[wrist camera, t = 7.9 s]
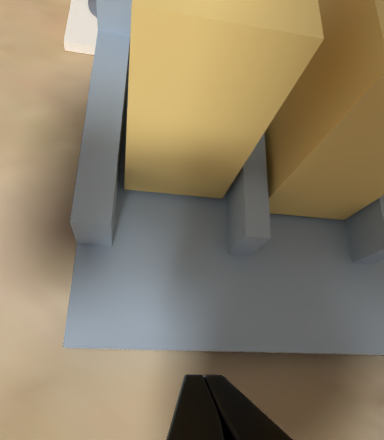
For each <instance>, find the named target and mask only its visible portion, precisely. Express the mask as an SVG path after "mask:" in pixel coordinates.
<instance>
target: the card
mask: <svg viewBox="0 0 384 440" xmlns="http://www.w3.org/2000/svg"><path fill="white" fill-rule="evenodd" d="M97 33H98V24H97V6H96V0H71V5H70V11H69V16H68V21H67V27H66V32H65V37H64V46H65V51H72V52H78V53H85V54H91V55H94V53H95V47H96V40H97Z"/></svg>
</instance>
